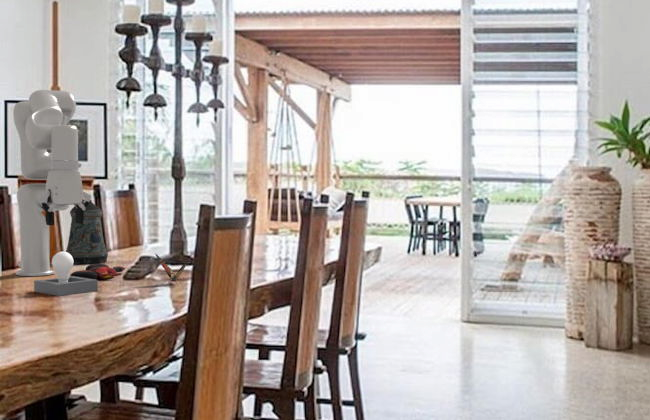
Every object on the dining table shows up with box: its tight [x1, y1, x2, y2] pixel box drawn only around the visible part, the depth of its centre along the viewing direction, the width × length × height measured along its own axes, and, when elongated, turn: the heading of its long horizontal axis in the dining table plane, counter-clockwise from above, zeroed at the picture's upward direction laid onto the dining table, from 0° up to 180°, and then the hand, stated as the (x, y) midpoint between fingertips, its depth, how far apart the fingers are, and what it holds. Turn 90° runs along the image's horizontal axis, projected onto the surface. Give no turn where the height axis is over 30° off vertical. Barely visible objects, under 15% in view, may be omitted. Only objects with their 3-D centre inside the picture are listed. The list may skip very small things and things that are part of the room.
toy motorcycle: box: [69, 263, 126, 280], centre depth 259 cm, size 25×5×16 cm
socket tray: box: [33, 275, 99, 297], centre depth 226 cm, size 13×13×3 cm
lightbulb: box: [51, 251, 74, 283], centre depth 225 cm, size 6×6×11 cm
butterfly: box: [155, 253, 193, 286], centre depth 241 cm, size 12×10×10 cm
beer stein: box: [65, 199, 109, 265], centre depth 303 cm, size 16×19×25 cm
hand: (65, 224), depth 226 cm, fingers open, 9 cm apart
